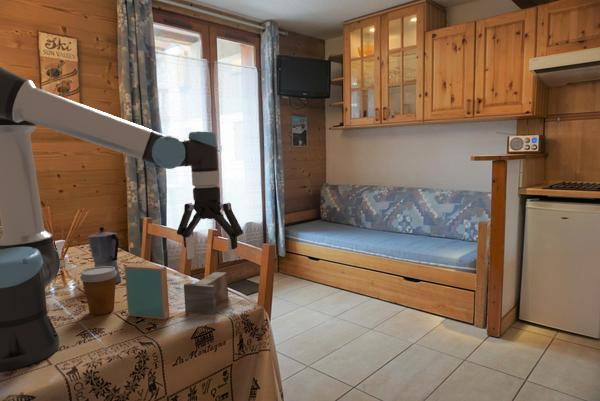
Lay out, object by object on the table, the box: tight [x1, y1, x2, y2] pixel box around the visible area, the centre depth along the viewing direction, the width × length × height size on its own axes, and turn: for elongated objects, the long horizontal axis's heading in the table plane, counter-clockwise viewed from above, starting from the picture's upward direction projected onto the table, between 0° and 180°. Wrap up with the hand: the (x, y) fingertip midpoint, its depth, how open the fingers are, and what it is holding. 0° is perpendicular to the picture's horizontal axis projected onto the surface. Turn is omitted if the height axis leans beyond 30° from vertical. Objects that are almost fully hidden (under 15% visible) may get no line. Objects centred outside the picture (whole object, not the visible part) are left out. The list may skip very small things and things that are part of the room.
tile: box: [123, 263, 171, 320], centre depth 110 cm, size 2×12×14 cm, turn 72°
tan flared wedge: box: [183, 271, 229, 316], centre depth 117 cm, size 13×9×8 cm
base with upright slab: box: [54, 239, 70, 264], centre depth 157 cm, size 9×9×12 cm
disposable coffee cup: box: [79, 266, 117, 316], centre depth 115 cm, size 10×10×12 cm
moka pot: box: [87, 226, 122, 285], centre depth 141 cm, size 10×15×20 cm, turn 62°
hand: (211, 259), depth 117 cm, fingers open, 13 cm apart
